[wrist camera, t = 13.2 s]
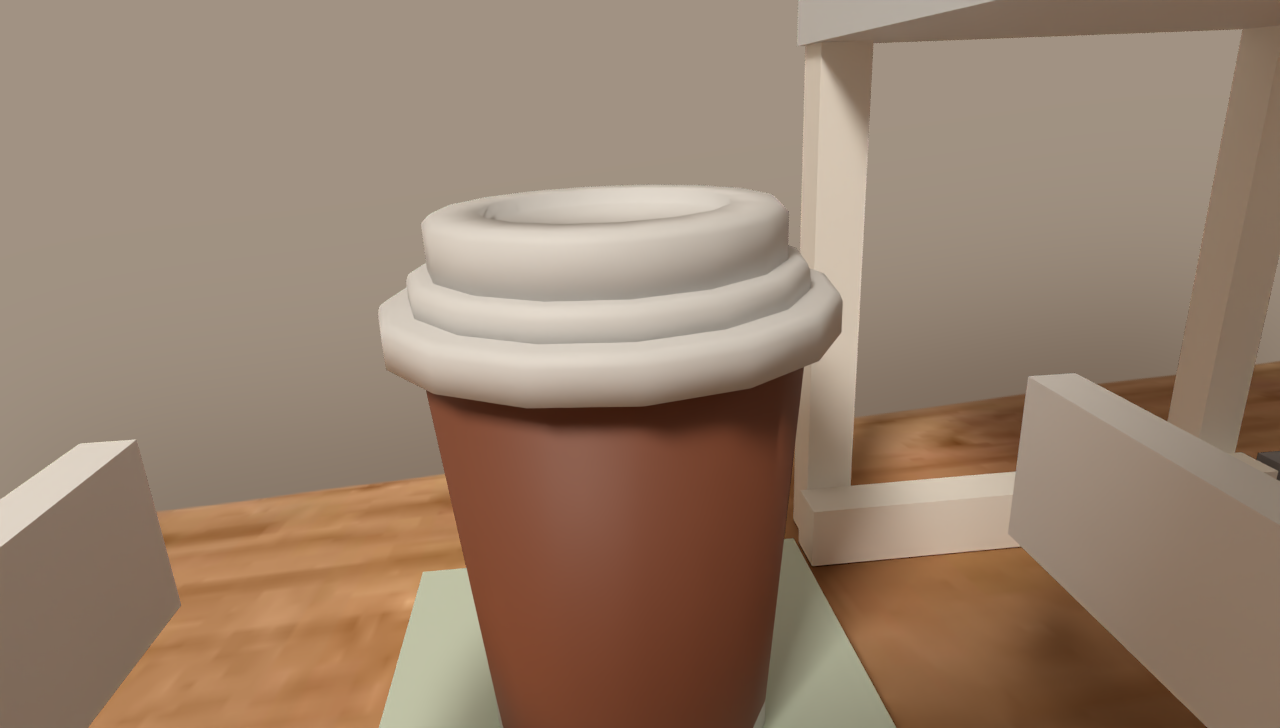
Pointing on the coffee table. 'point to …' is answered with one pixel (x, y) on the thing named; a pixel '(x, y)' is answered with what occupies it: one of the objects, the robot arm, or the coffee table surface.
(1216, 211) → the white stool
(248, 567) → the coffee table surface
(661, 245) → the coffee cup
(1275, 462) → the tray
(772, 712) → the pad
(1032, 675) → the coffee table surface
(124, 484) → the robot arm
